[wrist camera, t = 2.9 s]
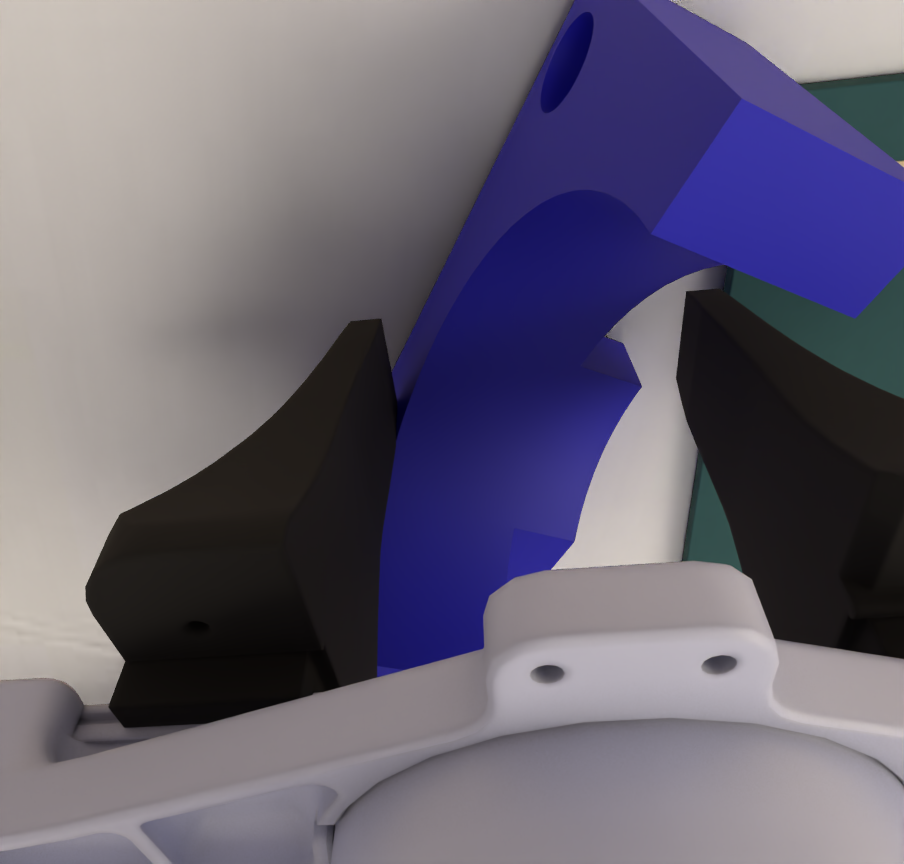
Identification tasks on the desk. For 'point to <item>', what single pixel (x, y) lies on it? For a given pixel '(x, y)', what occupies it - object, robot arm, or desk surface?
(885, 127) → the cloth
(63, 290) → the desk surface
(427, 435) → the cable clip
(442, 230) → the desk surface
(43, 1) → the desk surface
